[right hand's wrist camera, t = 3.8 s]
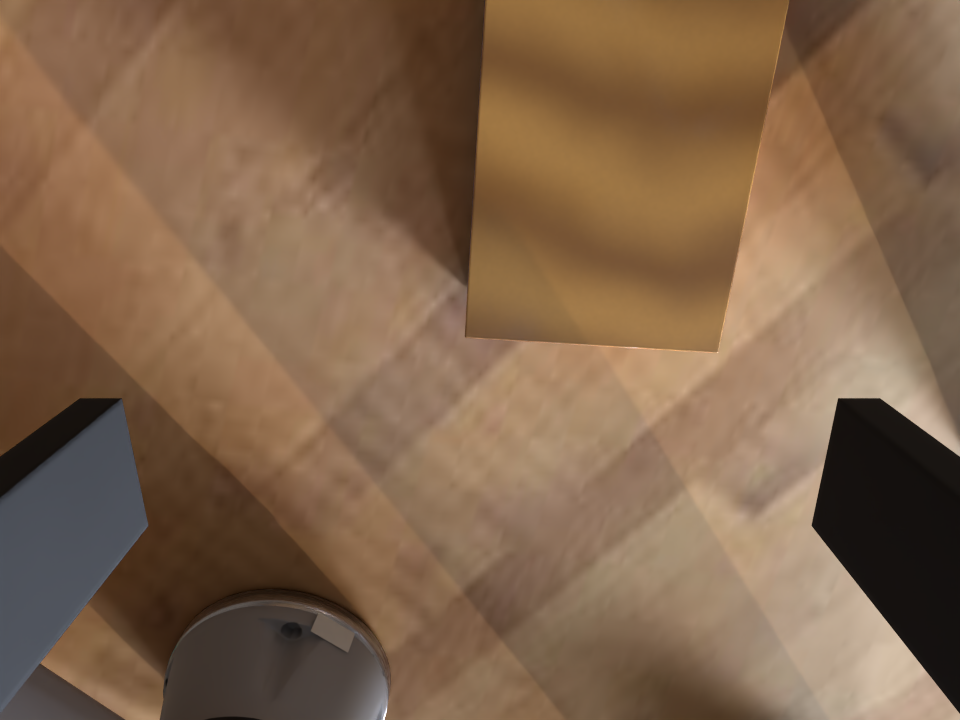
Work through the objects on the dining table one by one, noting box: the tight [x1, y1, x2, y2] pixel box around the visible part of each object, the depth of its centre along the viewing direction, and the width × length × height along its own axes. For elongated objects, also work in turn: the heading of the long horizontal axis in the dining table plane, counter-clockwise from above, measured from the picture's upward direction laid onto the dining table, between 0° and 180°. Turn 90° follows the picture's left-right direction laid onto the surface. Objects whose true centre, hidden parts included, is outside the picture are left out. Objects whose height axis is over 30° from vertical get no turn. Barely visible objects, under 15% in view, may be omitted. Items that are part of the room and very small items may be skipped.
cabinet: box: [465, 0, 789, 353], centre depth 30 cm, size 21×12×9 cm, turn 176°
